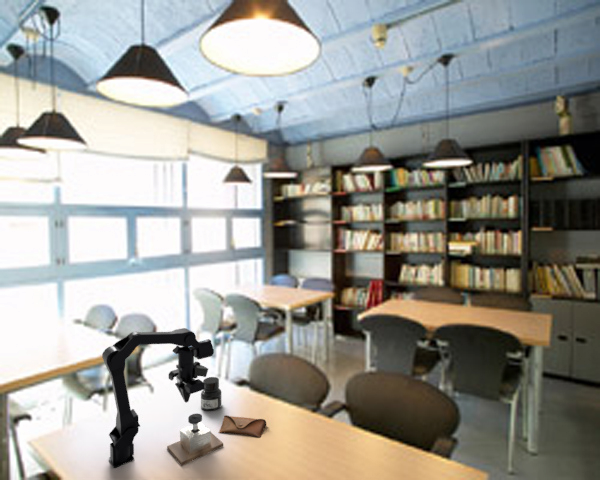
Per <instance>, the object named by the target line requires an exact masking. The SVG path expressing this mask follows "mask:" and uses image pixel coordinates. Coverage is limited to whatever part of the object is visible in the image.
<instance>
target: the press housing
mask: <svg viewBox="0 0 600 480" xmlns="http://www.w3.org/2000/svg"><path fill="white" fill-rule="evenodd" d="M211 433H212V432H211V430H210V429H209V428H208V427H207V426H206V425H205V424H204V423H202V421H201V422H199V423H198V432H196V433H193V424H191V425H189V426H186V427H184V428H182V429H180V430H179V441H180V444H181V445H182V447H183V448H184V449H185V450H186V451H187V452H188V453H189V454H192V453H195V452H197V451H199V450H201V449H203V448H206V447H208V446H210V445H211Z"/></svg>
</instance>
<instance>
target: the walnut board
mask: <svg viewBox="0 0 600 480" xmlns="http://www.w3.org/2000/svg"><path fill="white" fill-rule="evenodd" d="M222 447H224V442H223V441H221V440H220V439H219V438H218V437H217V436H216V435H215V434H213V433H212V432H211V445H210V446H208V447H206V448H203V449H201V450H199V451H197V452H195V453H192V454H189V453H188V452H187V451H186V450H185V449H184V448H183V447H182V445H181V444H180V440H179V441H176V442H174V443H172V444H169V445H167V446H166V450H167V451H168V452H169V453H170V455H171V456H173V458H174V459H175V460H176V461H177V462H178V464H179V465H180V466H181V467H182V466H184V465H186V464H189V463H190V462H193V461H194V460H198V459H200V458H202V457H204V456H205V455H208V454H210V453H212V452H214V451H216V450H218V449H220V448H222Z"/></svg>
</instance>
